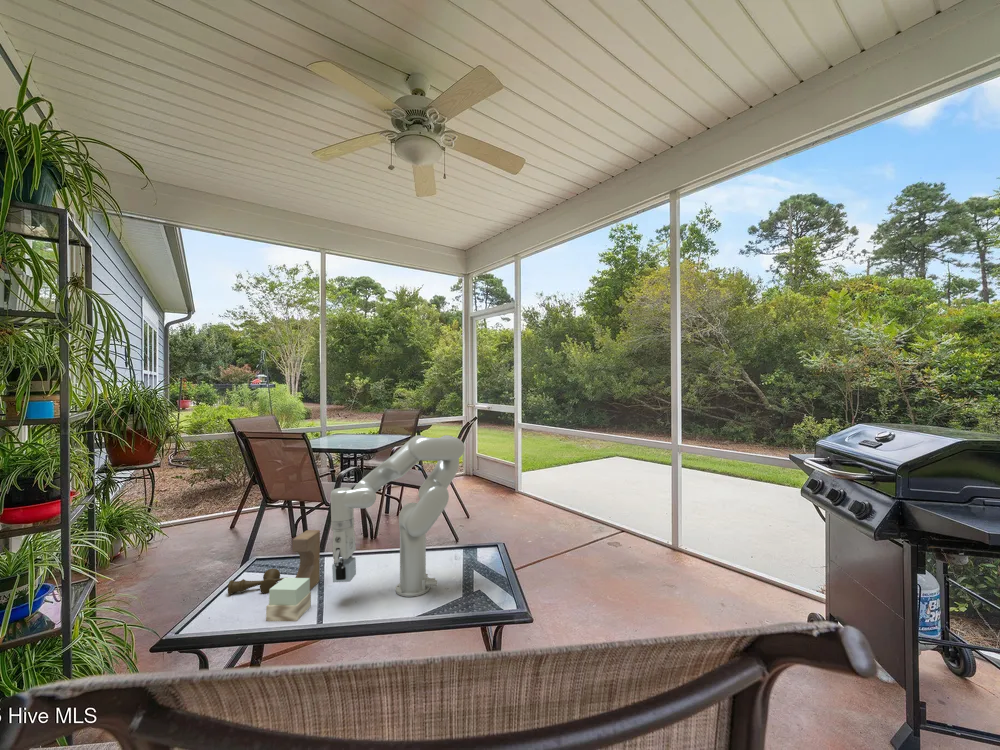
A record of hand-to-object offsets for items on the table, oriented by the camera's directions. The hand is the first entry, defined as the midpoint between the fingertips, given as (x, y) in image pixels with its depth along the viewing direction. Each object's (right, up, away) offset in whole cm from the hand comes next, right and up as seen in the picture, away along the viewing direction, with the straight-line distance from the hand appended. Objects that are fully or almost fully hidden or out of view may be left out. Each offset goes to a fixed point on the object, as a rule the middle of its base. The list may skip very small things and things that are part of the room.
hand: (344, 574), depth 152 cm
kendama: (-36, -11, +10) cm, 39 cm away
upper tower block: (-16, -5, -7) cm, 18 cm away
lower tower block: (-16, -10, -8) cm, 20 cm away
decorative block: (-19, -10, +11) cm, 24 cm away
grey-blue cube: (0, -1, 0) cm, 1 cm away
